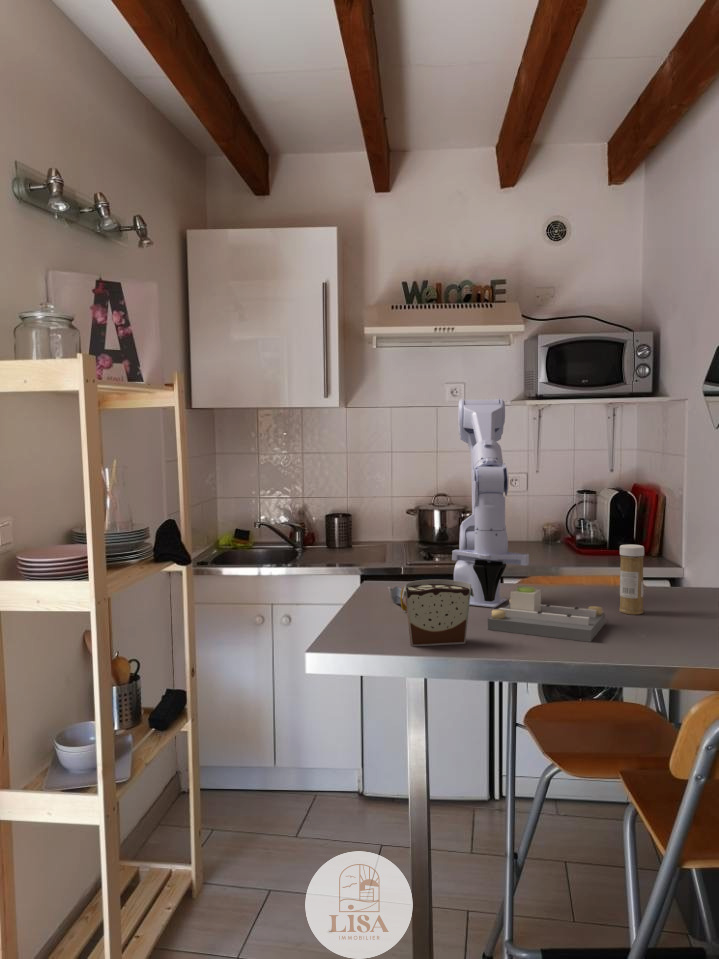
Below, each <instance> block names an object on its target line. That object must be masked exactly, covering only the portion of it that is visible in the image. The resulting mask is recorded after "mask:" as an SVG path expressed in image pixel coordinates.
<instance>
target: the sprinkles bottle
mask: <svg viewBox="0 0 719 959" xmlns="http://www.w3.org/2000/svg"><path fill="white" fill-rule="evenodd" d="M619 556H620V564H619V565H620V568H619V598H620V599H619V600H620V601H619V602H620V603H619V605H620V606H619V612H621V613H623V614H625V615H632V616H633V615H635V616H636V615H641V614H644V556H645V547H644V545H640V544H630V543H629V544H621V545H620V546H619Z"/></svg>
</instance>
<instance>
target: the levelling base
mask: <svg viewBox="0 0 719 959" xmlns="http://www.w3.org/2000/svg"><path fill="white" fill-rule="evenodd" d="M508 600H509V602H508V605H506V606H504V607H500V608H498V609H492V610H491V616H490V617H489V618H487V631H495V632H496V631H497V632H504V633H513V634H522V635H530V636H539V637H546V638H555V639H564V640H571V641H579V642H580V641H581V642H589V643H591V642H592V641H593V640H594V638H595V637H596V636H597V634H598V633H599V632H600V631H601V629H602V628H604V626H605V624H606V613H604V612H603V607H601V606H595V605H593V606H590V605H589V606H588V608H583V607H582V608H581V607H580V606H575V607H573V606H572V607H571V606H570V607H569V606H560V605H553V604H552V605H551V604H550V603H546V604H542V603H541V611H538V612H534V611H525V610H515V609H510V598H509V599H508Z"/></svg>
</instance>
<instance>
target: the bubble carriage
mask: <svg viewBox="0 0 719 959" xmlns="http://www.w3.org/2000/svg"><path fill="white" fill-rule="evenodd" d="M509 599H510V609H515V610H525V611H534V612H538V611H541V604H542V589H537V588H535V587H534V586H531V585H530V586H529V585H519V586H517V587H516V588H515V589H513V590H512V591H510V598H509Z"/></svg>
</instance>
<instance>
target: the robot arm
mask: <svg viewBox="0 0 719 959" xmlns="http://www.w3.org/2000/svg"><path fill="white" fill-rule="evenodd" d="M457 407H458V409H457V411H458V412H457V413H458V414H457V415H458V416H457V417H458V419H457V420H458V423H457V424H458V435H459V439H460V440H461V441H462V442H464V443H466V444H467V446H468V450H469V452H470V454H469V455H470V471H471V472H470V473H471V474H470V475H471V476H470V477H471V513H472V514H471V515H469V516H468V517H466V518H465V519H464V520H463V521H462V522H461V524H460V525H459V542H458V544H459V547H458V548H459V549H454V550H452V551H451V553H452V556H451V560H452V561H455V562H456V563H455V565H454V569H453V580H454V581H461V582H466V583H469V584H471V588H473V593H474V596H471V595H470V604H469V606H477V607H485V608H497V607H499V606H500V605H502V604H504V603H505V602H506V601H507V598H505V597H501V578H502V576H503V573H504V571H505V569H506V568H507V565H517V566H518V565H519V566H524V567H527V566H529V564H530V554H529V553H518V552H510V551H509V550H508V549H509V542H508V541H509V540H508V533H507V525H506V497H507V496H508V492H509V471H508V467H507V465H506V463H504V460H503V453H502V452H503V451H502V446H501V445H500V443H498V442H499V441H501V439H502V435H503V433H504V425H505V422H506V404H505V400H504V399H503V398H499V399H498V398H493V399H489V398H488V399H485V398H483V399H479V398H478V399H475V398H474V399H464V398H460V400H459V401H458V406H457ZM504 495H505V496H504Z"/></svg>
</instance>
